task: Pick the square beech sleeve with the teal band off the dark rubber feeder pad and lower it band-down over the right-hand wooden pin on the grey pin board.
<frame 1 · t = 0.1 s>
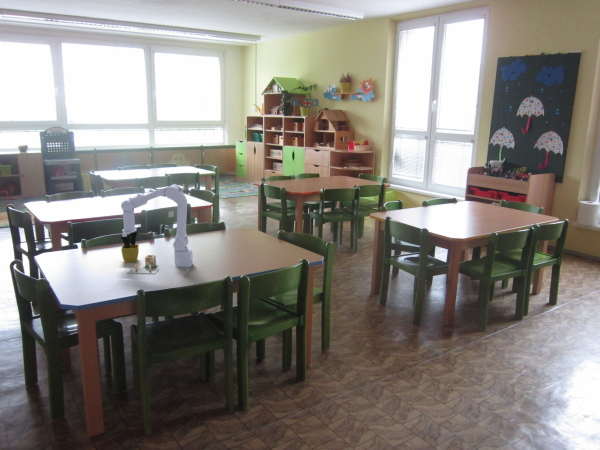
hand: (130, 246, 263), 10 cm above the table, tool pointing down, fingers open, 7 cm apart
feeder pad: (150, 268, 259), on the table
flower pot: (130, 262, 269), on the table
sleeve: (150, 266, 259), point 1 cm above the table, touching feeder pad
pin board: (143, 272, 252), on the table
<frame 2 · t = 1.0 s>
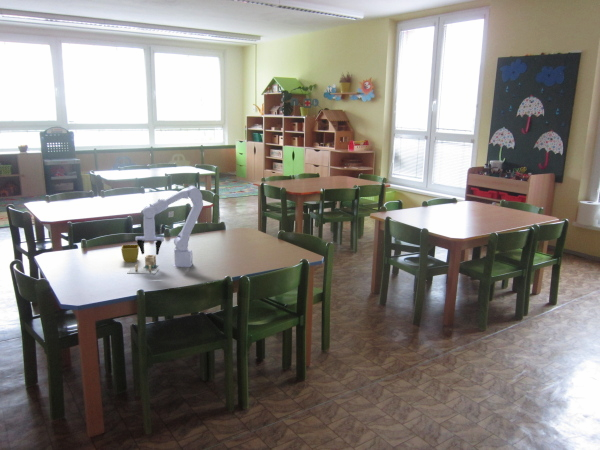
hand: (150, 254, 258), 8 cm above the table, tool pointing down, fingers open, 7 cm apart
nothing on the table moved.
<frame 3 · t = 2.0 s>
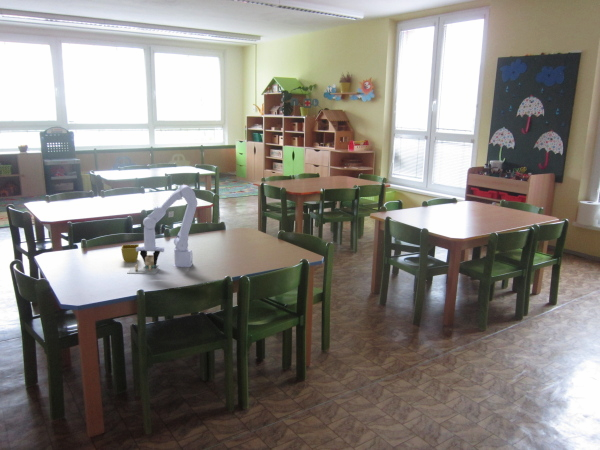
hand: (150, 264, 259), 2 cm above the table, tool pointing down, fingers closed on sleeve, 4 cm apart
sleeve: (150, 266, 259), point 1 cm above the table, touching feeder pad, gripper
everything else where it was.
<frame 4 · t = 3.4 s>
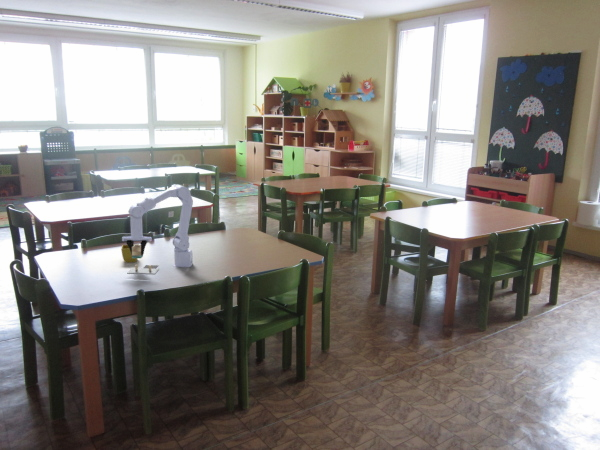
hand: (137, 254, 251), 9 cm above the table, tool pointing down, fingers closed on sleeve, 4 cm apart
sleeve: (137, 257, 251), point 8 cm above the table, touching gripper
everything else where it was.
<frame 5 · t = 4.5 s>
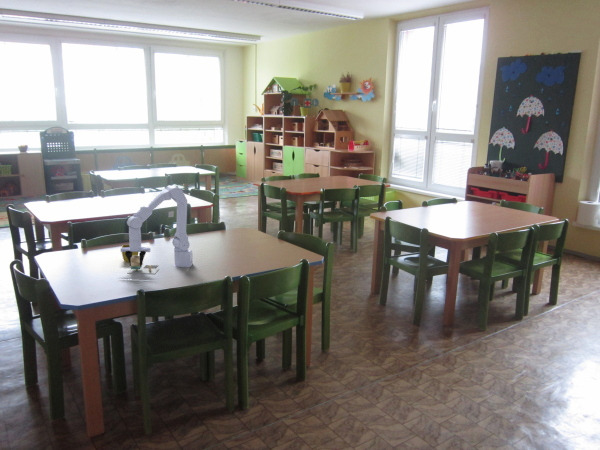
hand: (136, 265, 251), 4 cm above the table, tool pointing down, fingers closed on sleeve, 4 cm apart
sleeve: (136, 267, 251), point 2 cm above the table, touching gripper
everything else where it was.
when the fingers open (4 cm above the table, at t = 5.0 s): sleeve drops 1 cm, resting on pin board.
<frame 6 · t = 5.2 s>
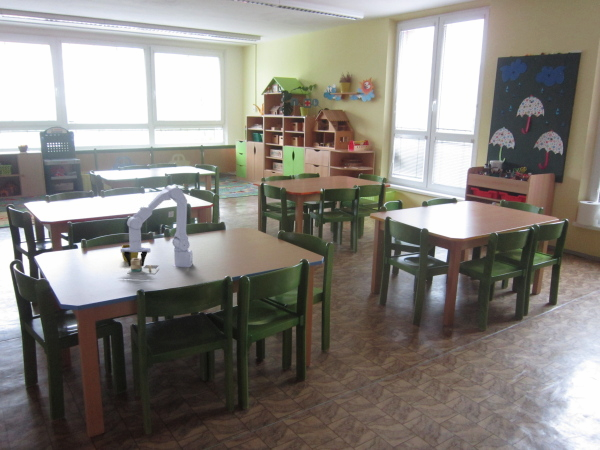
hand: (136, 265, 251), 4 cm above the table, tool pointing down, fingers open, 6 cm apart
sleeve: (136, 270, 251), point 1 cm above the table, touching pin board
everything else where it was.
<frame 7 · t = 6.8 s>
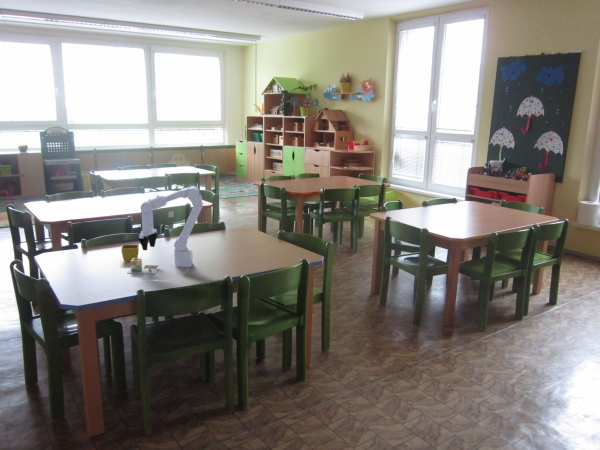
hand: (148, 248, 261), 10 cm above the table, tool pointing down, fingers open, 7 cm apart
nothing on the table moved.
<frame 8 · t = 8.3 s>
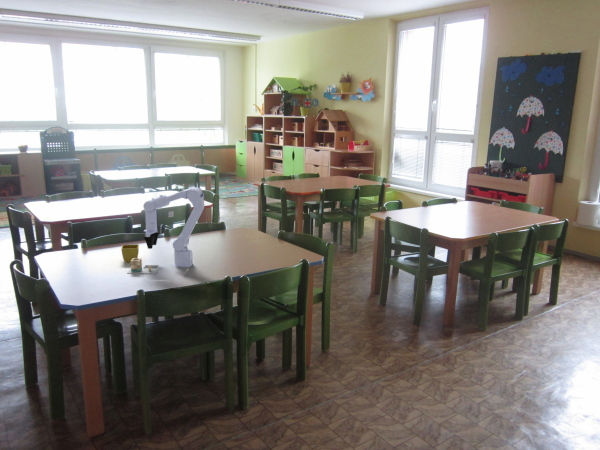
hand: (152, 246, 264), 10 cm above the table, tool pointing down, fingers open, 7 cm apart
nothing on the table moved.
at the end: sleeve 0.0 cm from the target spot on the pin board, point 1.0 cm above the pin board's base; sleeve tilted 0°; the gripper is holding nothing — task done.
